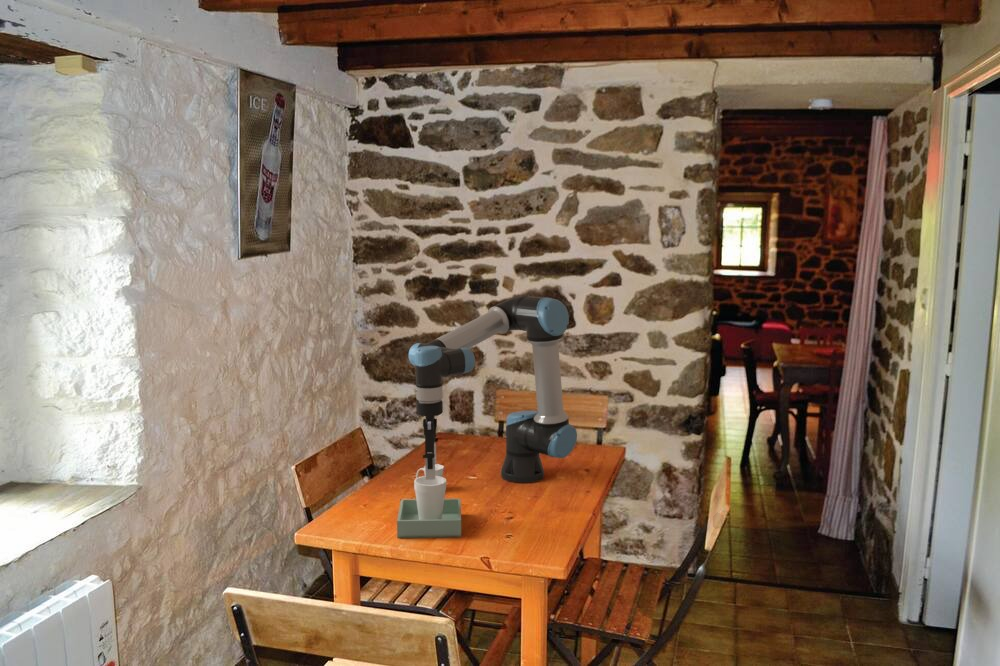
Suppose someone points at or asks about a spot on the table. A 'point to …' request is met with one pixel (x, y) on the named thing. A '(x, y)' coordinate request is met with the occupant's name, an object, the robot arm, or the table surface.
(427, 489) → the foam cup
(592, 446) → the table surface
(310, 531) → the table surface
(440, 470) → the cup
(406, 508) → the bin
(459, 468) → the table surface
